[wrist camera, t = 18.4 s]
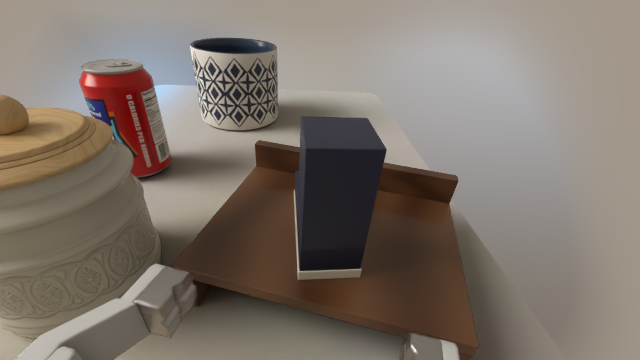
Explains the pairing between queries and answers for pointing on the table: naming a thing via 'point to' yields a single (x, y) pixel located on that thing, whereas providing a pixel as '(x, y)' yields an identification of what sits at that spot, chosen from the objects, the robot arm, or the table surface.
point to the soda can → (128, 110)
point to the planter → (236, 82)
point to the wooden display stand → (378, 260)
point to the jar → (66, 218)
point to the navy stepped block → (335, 195)
